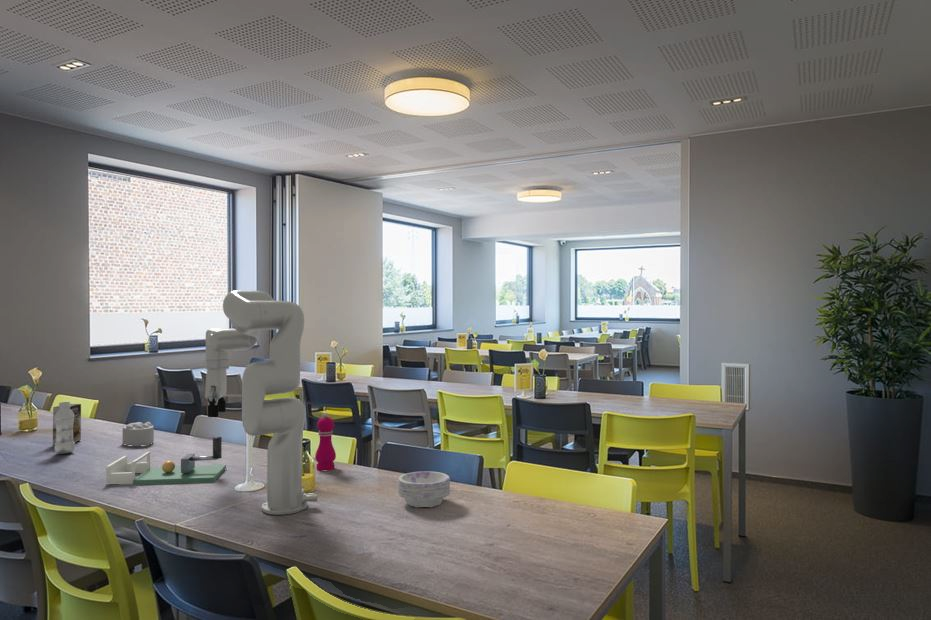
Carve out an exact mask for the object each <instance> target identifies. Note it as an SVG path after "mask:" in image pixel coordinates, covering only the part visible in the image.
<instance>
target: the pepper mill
mask: <svg viewBox="0 0 931 620" xmlns="http://www.w3.org/2000/svg"><path fill="white" fill-rule="evenodd" d="M316 428H317V429H318V430H319V431H318V436H319V442H318V443H319V444H318V447H317V449H316V451H315V458H314V459H315V461H316V462H317V463H316V470H317V471H319V470H320V472H322V471H321V470H329V471H332V469H333V470H334V469H335V463H334V461H335V460H336V459H337V458H336V457H337V454H336V450H335V447H334V445H333V443H332V436H333V435H334V433H333V432H334V431H333V429H334V428H335V422H334V420H333V419H332V418H331V417H329V414H328V413H327V412H324V413H323V414H322V417H321V418H318V421H317V423H316Z"/></svg>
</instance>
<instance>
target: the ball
mask: <svg viewBox="0 0 931 620" xmlns="http://www.w3.org/2000/svg"><path fill="white" fill-rule="evenodd" d="M161 467H162V470H163V471H164V472H166V473H170V472H172V471H173V470H174V469H175V467H176V463H175V462H174V461H172V460H166V461H164V462H163V464H162V465H161Z"/></svg>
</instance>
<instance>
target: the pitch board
mask: <svg viewBox="0 0 931 620" xmlns="http://www.w3.org/2000/svg"><path fill="white" fill-rule="evenodd" d="M225 469H227V464H216V465H213V464H212V465H211V464H210V465H195V468H194V469H193V470H192V471H190V472H189V473H181V465H180V466H175V469H174V470H173V471H172V472H170V473H166V472H164V471H163V470H162V466H154V467H153V466H152V467H151V466H150V469H148V470H147V471H145V472H144V473H140V475H138V476H137V477H135V479H134V480H133V484H132V485H133V486H134V484H143V485H158V484H157V483H171V484H193V482H199V483H214V482H215V481H216V480H217V479H218V478H219V477H220V476H221V475H222V474H223V473H224V472H225V471H226V470H225ZM224 470H225V471H224ZM223 471H224V472H223Z"/></svg>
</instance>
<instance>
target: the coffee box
mask: <svg viewBox="0 0 931 620" xmlns="http://www.w3.org/2000/svg"><path fill="white" fill-rule="evenodd" d="M70 406H71V407H70V409H71V410H72V412H73V413H74V423H73V439H74V442H77V441H80V440H81V441H82V433H81V432H82V404H80V403H70ZM52 408H53V409H52V446H53V445H55V443H56V424H55V418H54V417H55V414H56V413H57V412H58V410H59V409H60V408H59V405H57V406H53V407H52ZM81 441H80V442H81ZM77 443H78V442H77Z"/></svg>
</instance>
